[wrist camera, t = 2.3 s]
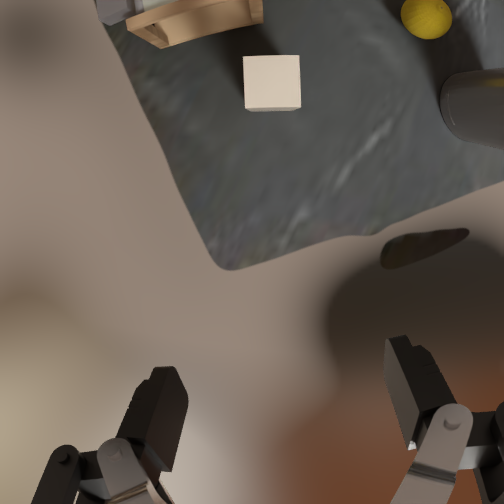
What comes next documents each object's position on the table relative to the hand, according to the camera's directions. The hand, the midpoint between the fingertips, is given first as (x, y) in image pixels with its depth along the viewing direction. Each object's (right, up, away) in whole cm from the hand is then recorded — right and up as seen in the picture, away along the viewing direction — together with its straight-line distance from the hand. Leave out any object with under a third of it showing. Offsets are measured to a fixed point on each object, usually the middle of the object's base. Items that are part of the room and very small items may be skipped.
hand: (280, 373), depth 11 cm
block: (+1, +22, +21) cm, 30 cm away
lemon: (+18, +32, +16) cm, 40 cm away
